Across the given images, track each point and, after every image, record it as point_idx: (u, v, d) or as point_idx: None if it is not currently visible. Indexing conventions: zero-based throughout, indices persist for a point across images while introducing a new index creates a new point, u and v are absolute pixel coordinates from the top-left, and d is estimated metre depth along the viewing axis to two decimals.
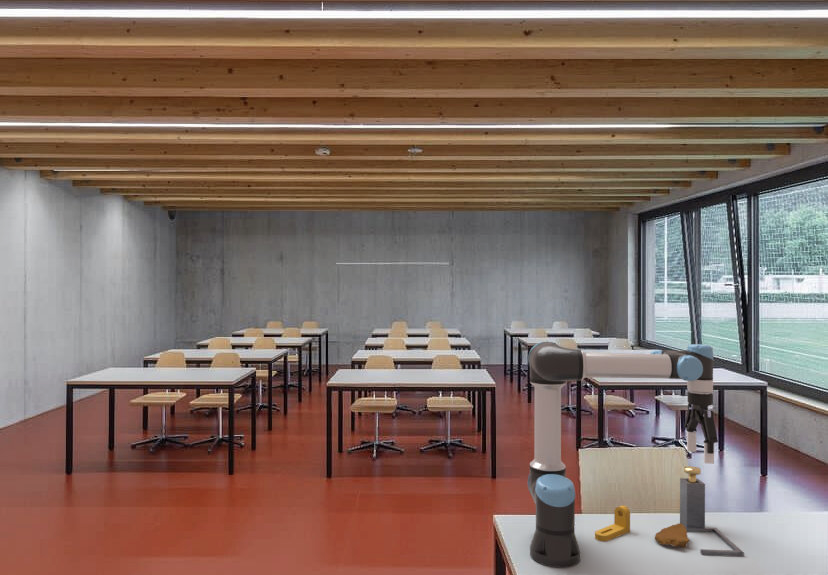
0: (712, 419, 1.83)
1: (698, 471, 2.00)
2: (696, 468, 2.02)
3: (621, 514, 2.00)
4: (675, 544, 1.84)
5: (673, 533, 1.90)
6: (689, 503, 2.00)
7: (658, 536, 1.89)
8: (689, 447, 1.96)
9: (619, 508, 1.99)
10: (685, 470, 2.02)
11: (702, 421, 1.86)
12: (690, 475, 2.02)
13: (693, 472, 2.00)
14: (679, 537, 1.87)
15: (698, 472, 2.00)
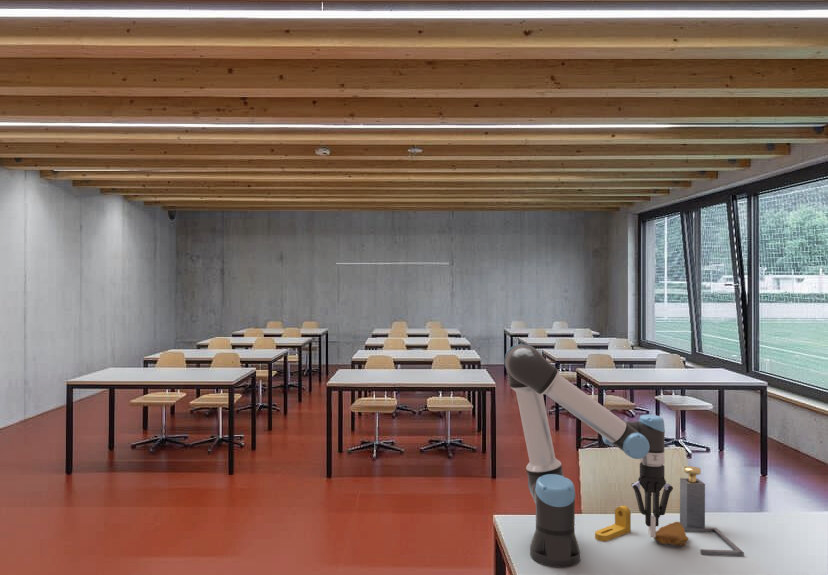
0: (636, 493, 1.90)
1: (698, 471, 2.00)
2: (696, 468, 2.02)
3: (622, 514, 2.00)
4: (675, 543, 1.85)
5: (672, 532, 1.91)
6: (689, 503, 2.00)
7: (657, 535, 1.90)
8: None
9: (619, 508, 1.99)
10: (685, 470, 2.02)
11: (645, 492, 1.91)
12: (690, 475, 2.02)
13: (693, 472, 2.00)
14: (678, 536, 1.87)
15: (698, 472, 2.00)
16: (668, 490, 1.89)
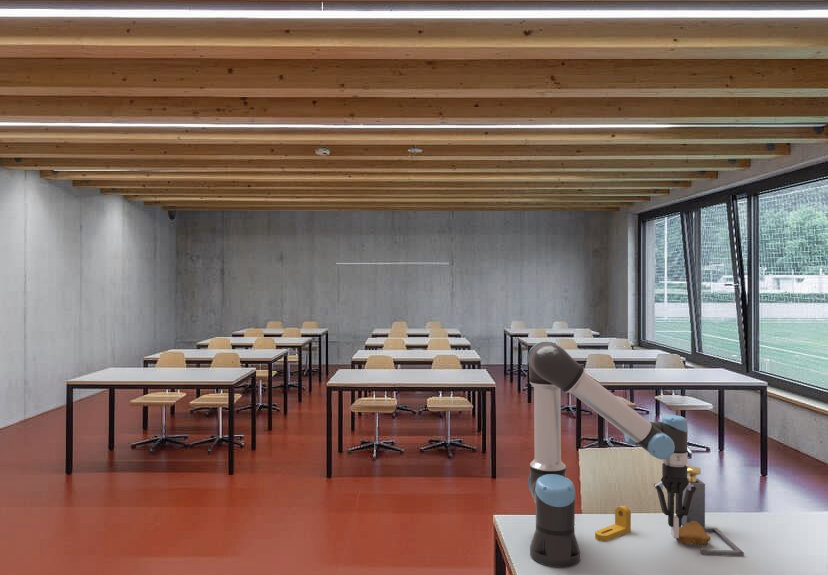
0: (659, 494, 1.89)
1: (698, 471, 2.00)
2: (696, 468, 2.02)
3: (622, 514, 2.00)
4: (700, 543, 1.85)
5: (693, 532, 1.91)
6: None
7: (680, 536, 1.89)
8: None
9: (620, 508, 1.99)
10: None
11: (667, 493, 1.91)
12: (690, 475, 2.02)
13: (693, 472, 2.00)
14: (701, 535, 1.88)
15: (698, 472, 2.00)
16: (691, 490, 1.88)
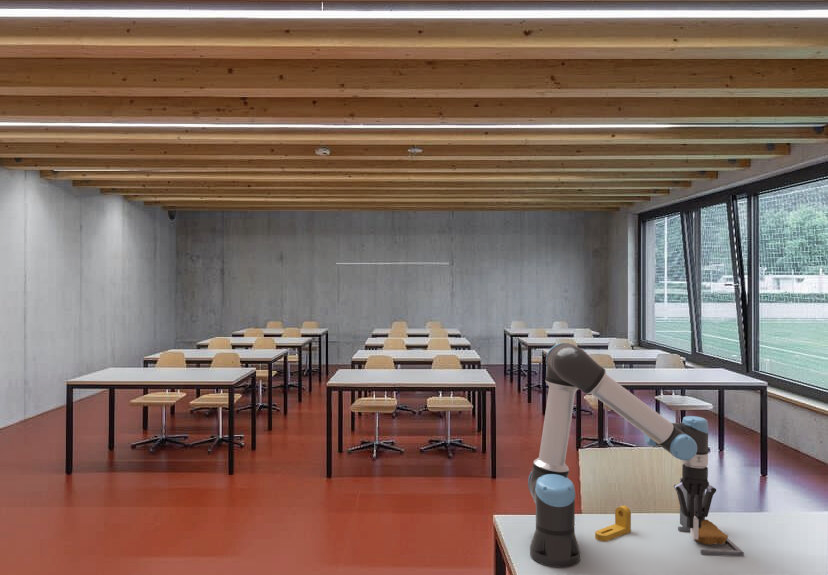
0: (679, 495, 1.89)
1: None
2: None
3: (622, 514, 2.00)
4: (722, 542, 1.85)
5: (710, 531, 1.91)
6: None
7: (700, 537, 1.89)
8: None
9: (620, 508, 1.99)
10: None
11: (687, 494, 1.90)
12: None
13: None
14: (719, 534, 1.89)
15: None
16: (711, 492, 1.88)
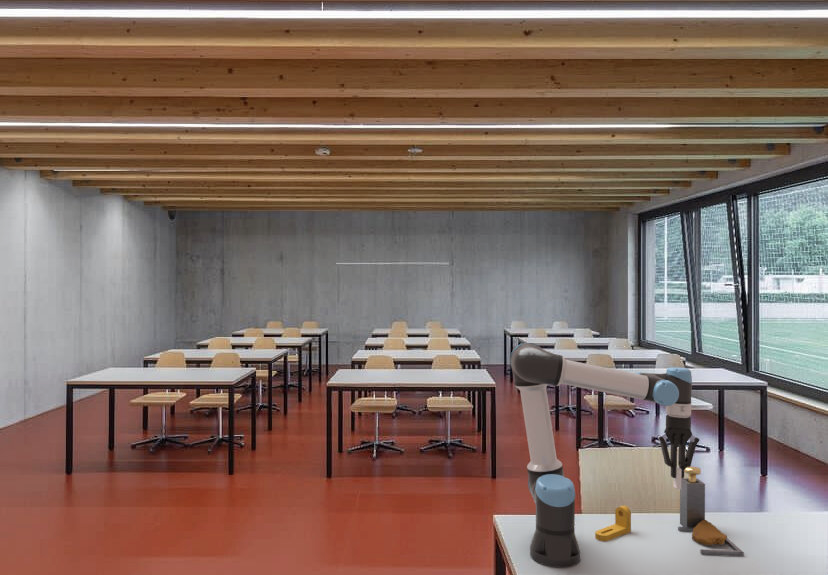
0: (662, 445, 1.89)
1: (698, 471, 2.00)
2: (696, 468, 2.02)
3: (622, 514, 2.00)
4: (721, 542, 1.85)
5: (709, 531, 1.92)
6: (689, 503, 2.00)
7: (700, 537, 1.89)
8: None
9: (620, 508, 1.99)
10: (685, 470, 2.02)
11: (671, 445, 1.91)
12: (690, 475, 2.02)
13: (693, 472, 2.00)
14: (718, 534, 1.89)
15: (698, 472, 2.00)
16: (694, 442, 1.88)
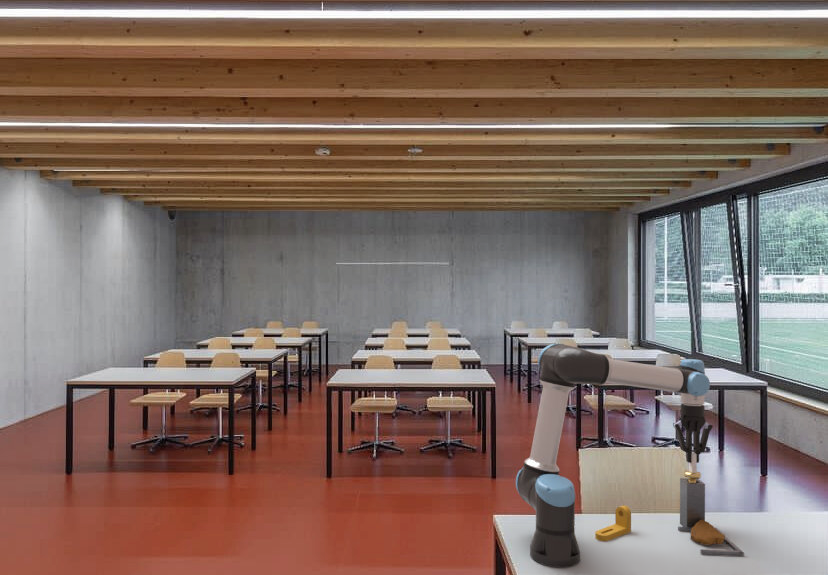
0: (678, 432, 2.02)
1: (698, 475, 2.00)
2: None
3: (622, 514, 2.00)
4: (720, 542, 1.86)
5: (707, 531, 1.92)
6: (689, 503, 2.00)
7: (699, 537, 1.89)
8: None
9: (620, 508, 1.99)
10: (685, 474, 2.02)
11: (686, 431, 2.04)
12: (690, 479, 2.02)
13: (693, 476, 2.00)
14: (717, 534, 1.89)
15: (698, 476, 2.00)
16: (708, 428, 2.01)
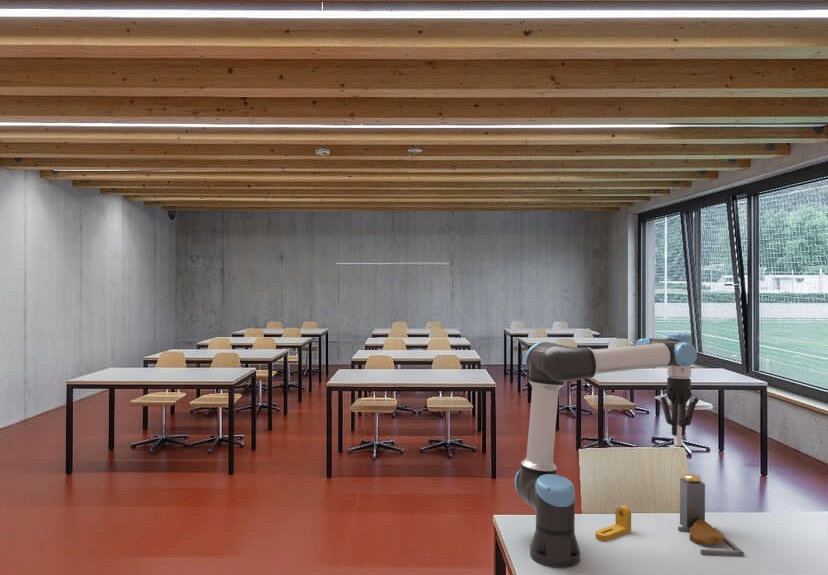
0: (664, 404, 2.02)
1: (698, 479, 2.00)
2: (696, 476, 2.02)
3: (622, 514, 2.00)
4: (719, 542, 1.86)
5: (706, 531, 1.92)
6: (689, 503, 2.00)
7: (698, 537, 1.89)
8: None
9: (620, 508, 1.99)
10: (685, 478, 2.02)
11: (672, 405, 2.04)
12: None
13: (693, 480, 2.00)
14: (715, 534, 1.90)
15: (698, 480, 2.00)
16: (694, 402, 2.01)
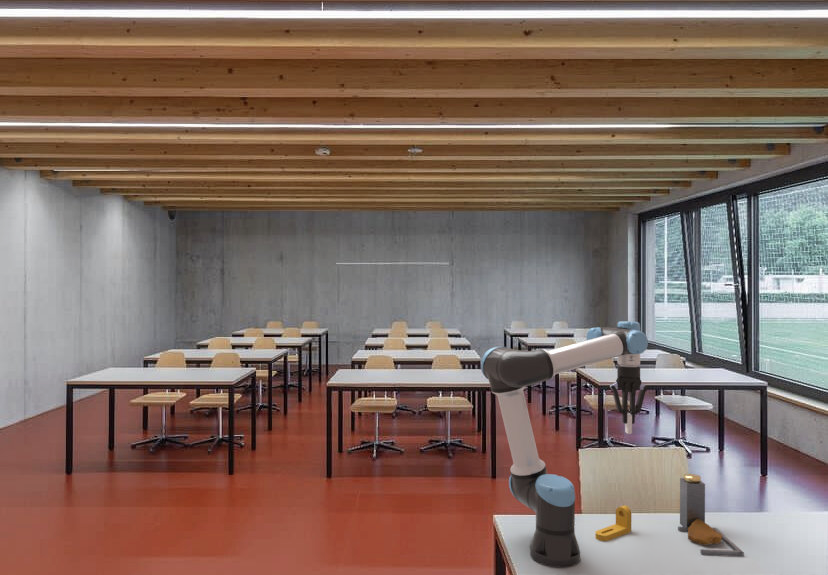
0: (614, 393, 2.03)
1: (698, 479, 2.00)
2: (696, 476, 2.02)
3: (622, 514, 2.00)
4: (718, 542, 1.86)
5: (704, 531, 1.92)
6: (689, 503, 2.00)
7: (697, 537, 1.89)
8: None
9: (620, 508, 1.99)
10: (685, 478, 2.02)
11: (622, 393, 2.05)
12: None
13: (693, 480, 2.00)
14: (714, 533, 1.90)
15: (698, 480, 2.00)
16: (643, 389, 2.02)
